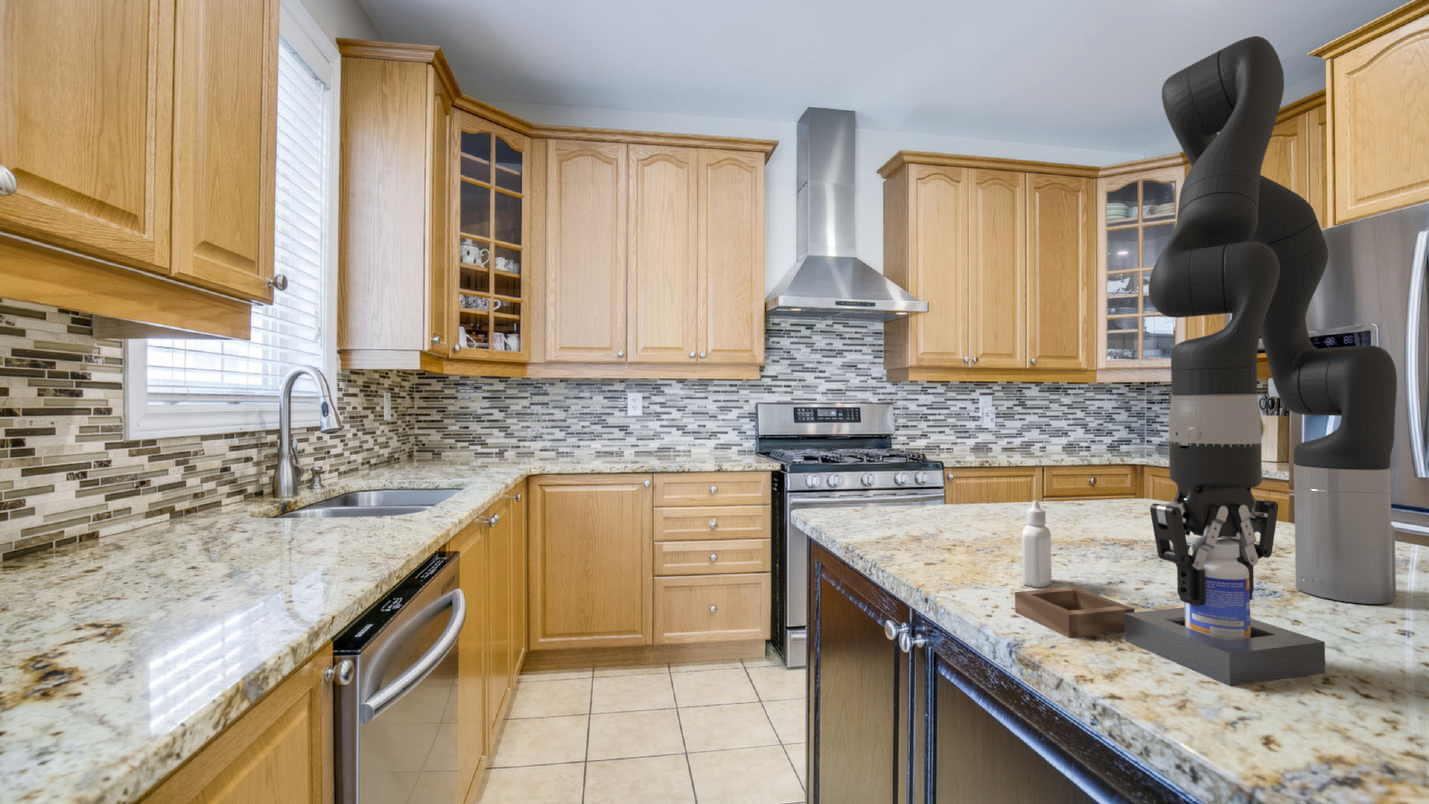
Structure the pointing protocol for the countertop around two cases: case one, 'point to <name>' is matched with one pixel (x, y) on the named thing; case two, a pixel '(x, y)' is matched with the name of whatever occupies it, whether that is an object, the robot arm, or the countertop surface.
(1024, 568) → the eye dropper bottle
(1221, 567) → the pill bottle
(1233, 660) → the steel block
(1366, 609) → the countertop surface
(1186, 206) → the robot arm
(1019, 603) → the walnut stand
